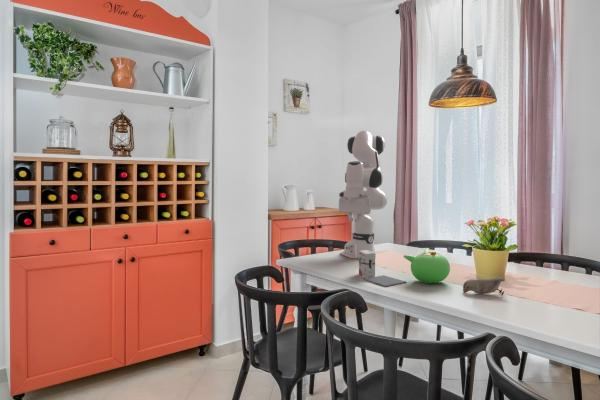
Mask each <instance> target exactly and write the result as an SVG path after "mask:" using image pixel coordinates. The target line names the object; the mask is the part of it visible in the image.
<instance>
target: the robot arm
mask: <svg viewBox="0 0 600 400" xmlns="http://www.w3.org/2000/svg"><path fill="white" fill-rule="evenodd" d="M346 148H347V150H348V153H349V154H352V155H353V157H354V158H355V159H356V161H349V162H348V163H347V165H346V171H345V173H344V174H345V175H344V181H345V183H346V185H345V190H343V191H341V192H339V193H338V197H339V199H338V211H340V212H343V213H344V212H345V213H346V215H347V217H348V222H350V223H351V222H353V223H354V232H353V233H351V235H352V238H351V239H349V241H347V242H346V243H345V244H344V249H343V251H340V253H339V254H340V255H342V256H345V257H348V258H350V259H359V251H363V250H369V251H372V252H374V253H375V258H376V255H377V254H376V248H375V242H374V240H375V233H374V232H375V231H374V229H375V228H374V227H375V224H374V222H375V221H374V219H373V218H372V217H371V216H369V215H370V213H371V212H372V211H376V210H382V209H383V210H384V209H385V208H386V206H387V205H388V197H387V195H386V193H385V192H384V191H382V190H381V189H380V186H382V184H383V179H384V176H383V173H382V169H381V162H380V157H379V155H381V154H382V153H383V152H384V150H385V148H386V142H385V139H384V137H383V136H381V135H373V134H371V132H369V131H367V130H362V131H359V132H358V133H356V135H355V136H351V137H349V138H348V140H347V143H346ZM364 189H366V190H364ZM371 210H372V211H371Z"/></svg>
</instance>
